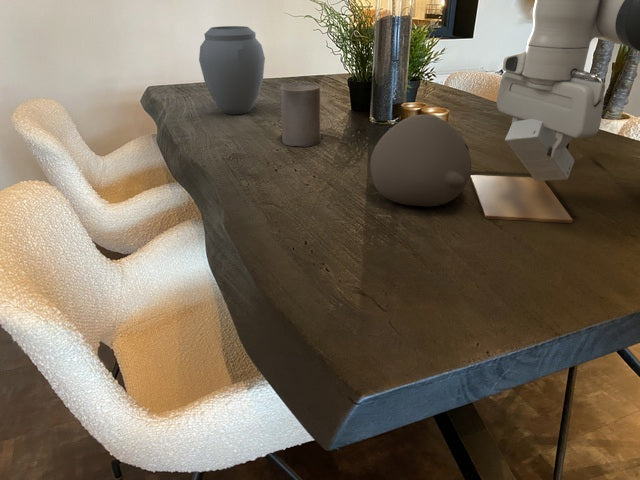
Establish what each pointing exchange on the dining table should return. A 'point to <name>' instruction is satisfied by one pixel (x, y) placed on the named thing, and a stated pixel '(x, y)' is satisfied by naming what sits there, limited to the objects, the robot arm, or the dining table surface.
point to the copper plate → (518, 199)
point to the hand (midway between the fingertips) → (535, 150)
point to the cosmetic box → (538, 150)
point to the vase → (232, 67)
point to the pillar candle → (300, 114)
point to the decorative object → (421, 162)
